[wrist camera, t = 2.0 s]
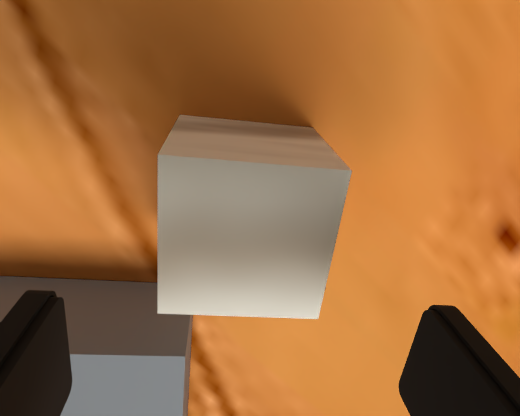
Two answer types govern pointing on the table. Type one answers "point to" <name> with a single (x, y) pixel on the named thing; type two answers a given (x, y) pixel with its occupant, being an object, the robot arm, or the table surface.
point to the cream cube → (246, 218)
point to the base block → (117, 346)
